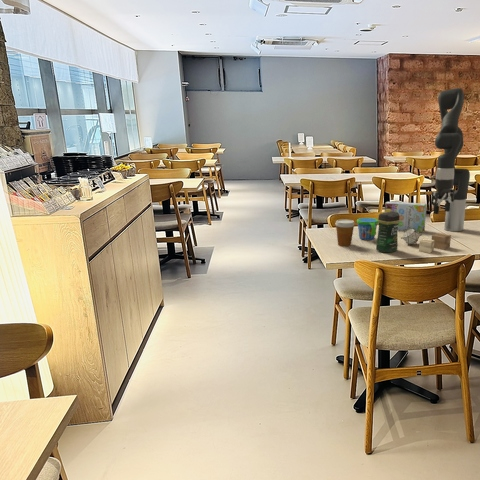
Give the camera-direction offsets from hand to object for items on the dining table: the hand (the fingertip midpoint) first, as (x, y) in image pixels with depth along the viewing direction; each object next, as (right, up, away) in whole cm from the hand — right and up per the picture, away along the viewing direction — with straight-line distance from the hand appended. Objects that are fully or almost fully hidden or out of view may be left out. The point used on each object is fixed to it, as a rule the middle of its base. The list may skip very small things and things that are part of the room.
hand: (441, 212), depth 203 cm
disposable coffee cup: (-42, -15, +14) cm, 47 cm away
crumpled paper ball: (-10, -15, +10) cm, 21 cm away
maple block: (-7, -18, -1) cm, 19 cm away
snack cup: (-28, -12, +23) cm, 39 cm away
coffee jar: (-25, -18, +2) cm, 31 cm away
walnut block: (+1, -16, +4) cm, 17 cm away
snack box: (-3, -7, +39) cm, 40 cm away
